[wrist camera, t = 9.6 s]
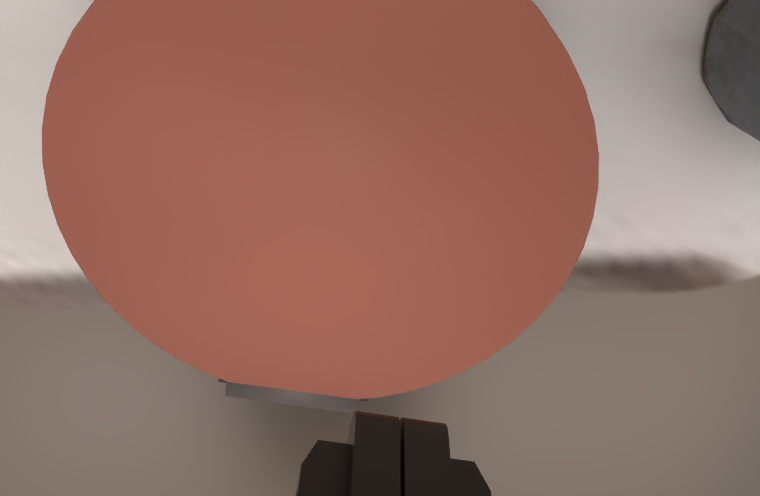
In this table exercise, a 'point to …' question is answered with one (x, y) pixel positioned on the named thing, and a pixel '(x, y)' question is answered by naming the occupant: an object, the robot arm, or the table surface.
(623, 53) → the table surface
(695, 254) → the table surface
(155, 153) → the lid
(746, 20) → the moka pot
